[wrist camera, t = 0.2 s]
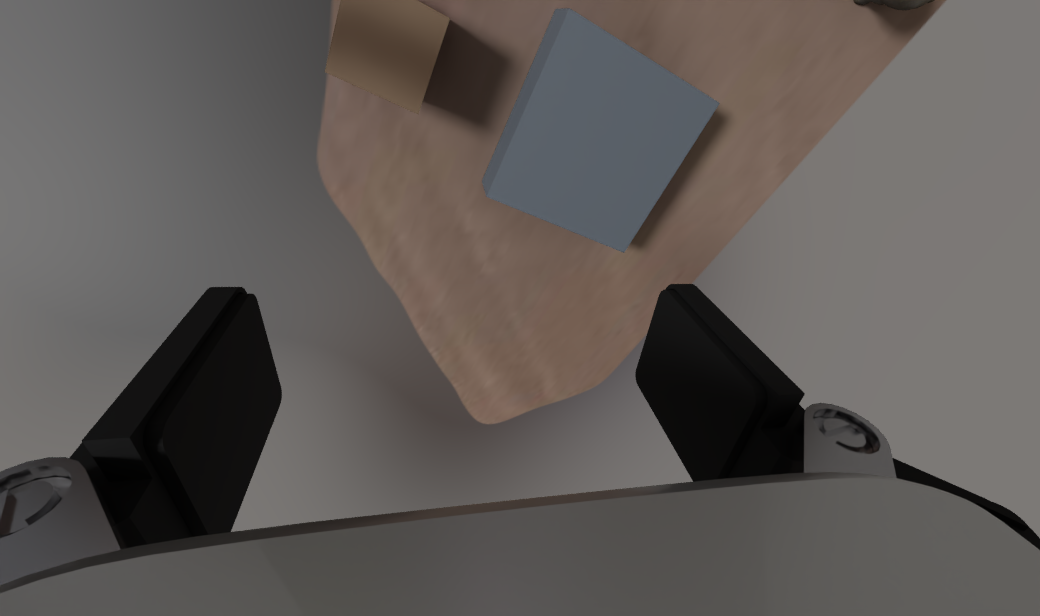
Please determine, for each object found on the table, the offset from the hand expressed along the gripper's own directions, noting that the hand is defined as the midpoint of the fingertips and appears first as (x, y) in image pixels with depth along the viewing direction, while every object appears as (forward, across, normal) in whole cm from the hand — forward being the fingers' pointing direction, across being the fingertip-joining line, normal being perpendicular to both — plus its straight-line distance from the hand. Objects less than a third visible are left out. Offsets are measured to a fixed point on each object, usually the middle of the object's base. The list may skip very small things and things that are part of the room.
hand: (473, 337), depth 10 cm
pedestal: (+30, -12, +1) cm, 32 cm away
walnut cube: (+30, +4, -5) cm, 31 cm away
